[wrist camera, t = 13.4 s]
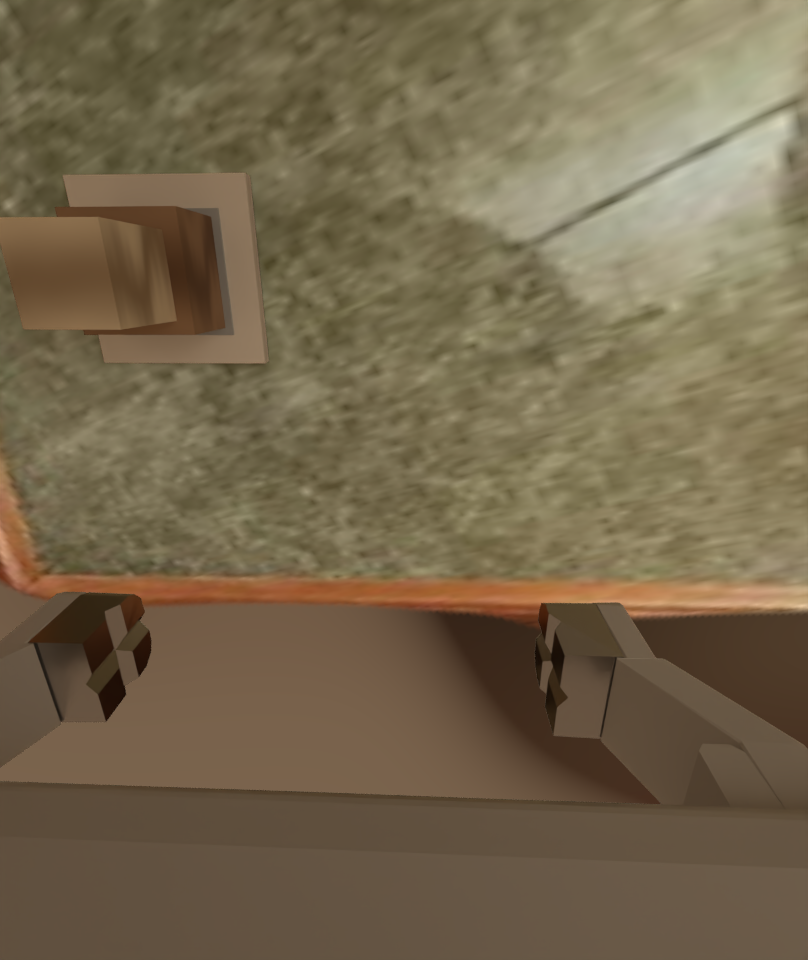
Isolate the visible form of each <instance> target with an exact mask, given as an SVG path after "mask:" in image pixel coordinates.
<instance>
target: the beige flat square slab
mask: <svg viewBox="0 0 808 960" xmlns="http://www.w3.org/2000/svg"><path fill="white" fill-rule="evenodd" d="M63 178H64V183H65V187H66V192H67V196H68V201H69V205H70V207H115V206H177V207H181V208H184V209H187V210H191V211H194V212H197V213H201V214H204V215H207V216H210V217H211V220H212V228H213V235H214V243H215V251H216V258H217V266H218V274H219V281H220V289H221V297H222V304H223V312H224V320H225V327H226V328H223V329H218V330H214V331H209V332H205V333H201V334H196V335H98V336H99V340H100V345H101V349H102V354H103V358H104V363H267V362H269V356H268V346H267V336H266V326H265V317H264V307H263V297H262V287H261V277H260V267H259V258H258V248H257V238H256V228H255V218H254V208H253V199H252V189H251V179H250V175H248V174H246V173H186V174H105V175H63Z"/></svg>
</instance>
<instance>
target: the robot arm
mask: <svg viewBox="0 0 808 960" xmlns="http://www.w3.org/2000/svg"><path fill="white" fill-rule="evenodd" d="M144 613H145V610H144V607H143V604H142V600H141V598H140V597H138V596H136V595H135V594H115V593H91V592H89V593H86V592H63V593H58V594H56V595H55V596H54V597H52V598H51V599H50V600H49V601H48V602H46V603H45V604H44V605H43V606H42V607H40V608H39V609H38V610H37V611H36V612H35V613H33V614H32V615H31V616H30V617H28V618H27V619H26V620H25V621H24V622H22V623H21V624H20V625H19V626H18V627H16V628H15V629H14V630H13V631H12V632H10V633H9V634H8V635H7V636H6V637H4V638H3V639H2V640H1V641H0V768H1V767H2V766H3V765H5V764H6V763H7V762H9V761H10V760H12V759H13V758H15V757H16V756H17V755H19V754H20V753H22V752H23V751H24V750H26V749H27V748H29V747H30V746H31V745H33V744H34V743H36V742H37V741H38V740H40V739H41V738H43V737H44V736H46V735H47V734H48V733H50V732H51V731H53V730H54V729H55V728H57V727H58V726H60V725H61V722H106V721H107V720H108V719H109V717H110V716H111V715H112V713H113V712H114V711H115V709H116V708H117V707H118V705H119V704H120V702H121V701H122V700H123V698H124V697H125V695H126V690H125V685H127V684H129V683H130V682H132V681H133V680H135V679H137V678H138V677H139V676H140V675H141V673H142V672H143V670H144V669H145V668H146V666H147V663H148V660H149V657H150V653H151V637H150V631H149V629H148V628H146V627H145V625H143V623H141V622H140V619H141V618H142V616H143V614H144ZM538 622H539V625H540V628H541V631H542V633H541V634H540V635H539V636H538V637H537V638H536V644H535V668H536V674H537V680H538V684H539V687H540V689H541V690H543V691H544V692H545V693H546V701H545V709H546V712H547V715H548V719H549V722H550V725H551V729H552V733H553V736H565V737H583V738H599V739H601V742H602V743H603V744H604V745H605V746H606V747H607V748H608V749H609V750H610V751H611V752H612V753H613V754H614V755H615V756H616V757H617V758H618V759H619V760H620V761H621V762H622V763H623V764H624V765H625V766H626V767H627V769H628V770H629V771H630V772H631V773H632V774H633V775H634V776H635V777H636V778H637V779H638V780H639V781H640V782H641V783H642V784H643V785H644V786H645V787H646V788H647V789H648V790H649V791H650V792H651V793H652V795H654V796H655V798H656V799H657V800H658V801H659V802H660V803H661V805H660V804H633V803H606V802H604V803H603V802H575V801H543V800H512V799H483V798H457V797H430V796H403V795H379V794H351V793H325V792H322V793H321V792H296V791H266V790H265V791H264V790H238V789H209V788H180V787H179V788H178V787H150V786H122V785H94V784H64V783H38V782H9V781H0V960H808V749H807V748H806V747H805V746H804V745H803V744H802V743H799V742H798V741H797V740H795V739H793V738H792V737H790V736H789V735H787V734H785V733H784V732H782V731H780V730H779V729H777V728H775V727H774V726H772V725H771V724H769V723H767V722H766V721H764V720H763V719H761V718H759V717H758V716H756V715H754V714H753V713H751V712H750V711H748V710H746V709H745V708H743V707H742V706H740V705H738V704H737V703H735V702H733V701H732V700H730V699H729V698H727V697H725V696H724V695H722V694H720V693H719V692H717V691H715V690H714V689H712V688H711V687H709V686H707V685H706V684H704V683H702V682H701V681H699V680H698V679H696V678H694V677H692V676H691V675H689V674H688V673H686V672H685V671H683V670H681V669H680V668H678V667H677V666H675V665H673V664H672V663H670V662H668V661H667V660H665V659H656V658H655V656H654V654H653V653H652V652H651V650H650V648H649V646H648V645H647V643H646V642H645V640H644V638H643V637H642V635H641V634H640V632H639V631H638V629H637V628H636V626H635V624H634V623H633V621H632V619H631V618H630V616H629V615H628V613H627V611H626V610H625V608H624V607H623V605H621V604H620V603H541V606H540V609H539V617H538Z"/></svg>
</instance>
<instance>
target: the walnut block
mask: <svg viewBox="0 0 808 960" xmlns="http://www.w3.org/2000/svg"><path fill="white" fill-rule="evenodd" d="M55 210H56V214H57V217H101V218H106V219H111V220H116V221H122V222H127V223H132V224H137V225H142V226H147V227H152V228H157V229H162V232H163V238H164V244H165V251H166V257H167V263H168V269H169V275H170V281H171V288H172V294H173V300H174V306H175V312H176V319H177V321H173V322H167V323H160V324H154V325H148V326H141V327H135V328H129V329H122V330H83V331H84V335H196V334H201V333H205V332H209V331H214V330H218V329H223V328H226V327H225V320H224V312H223V304H222V297H221V289H220V281H219V274H218V266H217V258H216V251H215V243H214V235H213V228H212V220H211V217H210V216H207V215H204V214H201V213H197V212H194V211H191V210H187V209H184V208H181V207H177V206H115V207H55Z"/></svg>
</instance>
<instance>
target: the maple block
mask: <svg viewBox="0 0 808 960" xmlns="http://www.w3.org/2000/svg"><path fill="white" fill-rule="evenodd" d="M0 245H1V248H2V252H3V256H4V259H5V263H6V267H7V270H8V274H9V278H10V281H11V285H12V289H13V292H14V296H15V300H16V303H17V307H18V311H19V314H20V318H21V322H22V325H23V329H56V330H122V329H129V328H135V327H141V326H148V325H154V324H160V323H167V322H173V321H177V319H176V312H175V306H174V300H173V294H172V288H171V281H170V275H169V269H168V263H167V257H166V251H165V244H164V238H163V232H162V229H157V228H152V227H147V226H142V225H137V224H132V223H127V222H122V221H116V220H111V219H106V218H101V217H0Z"/></svg>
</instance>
